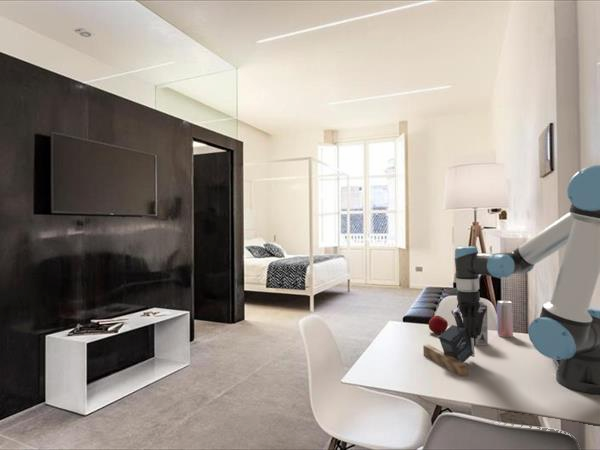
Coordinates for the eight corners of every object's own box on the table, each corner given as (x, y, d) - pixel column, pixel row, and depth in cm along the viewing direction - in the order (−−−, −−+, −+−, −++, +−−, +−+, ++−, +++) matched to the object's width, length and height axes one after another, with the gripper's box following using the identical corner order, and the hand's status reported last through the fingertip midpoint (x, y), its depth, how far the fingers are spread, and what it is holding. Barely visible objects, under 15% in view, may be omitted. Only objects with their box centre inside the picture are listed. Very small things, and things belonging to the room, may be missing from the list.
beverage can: (494, 334, 170) (493, 300, 170) (505, 333, 171) (504, 300, 172) (505, 338, 164) (504, 303, 164) (516, 336, 166) (515, 302, 166)
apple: (439, 336, 167) (439, 318, 167) (425, 332, 174) (425, 315, 174) (451, 334, 171) (451, 316, 171) (436, 330, 178) (436, 313, 178)
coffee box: (466, 338, 164) (466, 301, 164) (482, 339, 163) (481, 301, 163) (471, 344, 155) (471, 305, 155) (488, 345, 154) (488, 305, 154)
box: (460, 350, 139) (452, 324, 137) (474, 354, 134) (465, 327, 132) (446, 361, 135) (437, 335, 134) (459, 366, 130) (450, 339, 129)
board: (467, 375, 122) (467, 364, 122) (460, 376, 122) (460, 365, 122) (429, 354, 144) (429, 344, 144) (423, 354, 143) (423, 345, 143)
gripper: (476, 286, 141) (479, 350, 141) (446, 289, 138) (449, 354, 138) (490, 290, 133) (493, 356, 134) (458, 293, 131) (462, 361, 131)
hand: (471, 355), depth 136 cm, fingers closed
